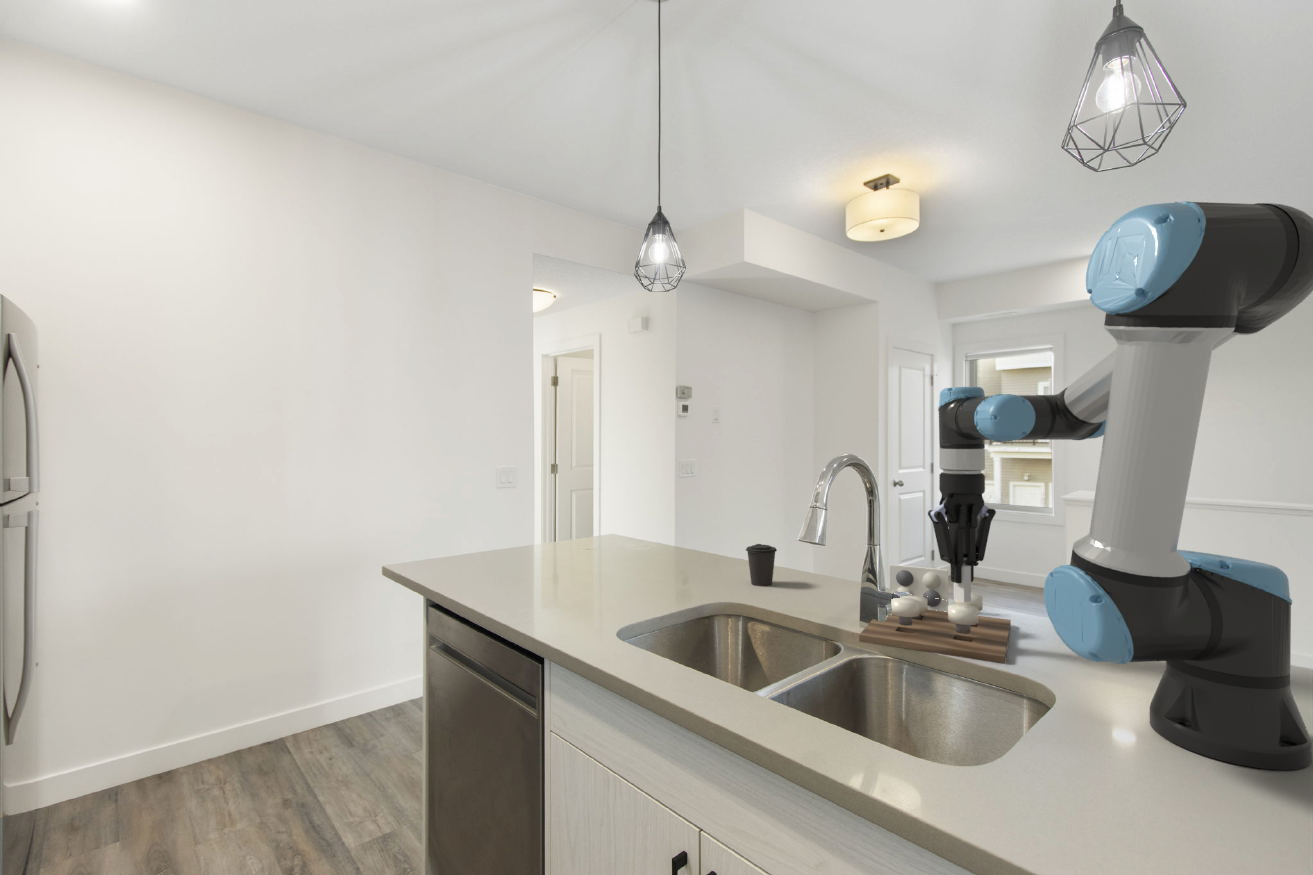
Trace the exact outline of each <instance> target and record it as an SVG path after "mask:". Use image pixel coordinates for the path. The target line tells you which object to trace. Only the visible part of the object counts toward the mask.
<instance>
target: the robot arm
mask: <svg viewBox="0 0 1313 875" xmlns="http://www.w3.org/2000/svg"><path fill="white" fill-rule="evenodd" d="M1085 287H1086V292H1087V294H1089V295H1090V296H1089V300H1090V303H1092V304H1093V306H1094V307H1095V308H1096V309H1098V310H1101V311H1102V312H1104V313H1105V316H1104V324H1103V329H1104V330H1105V331H1106V332H1107V333H1108V334H1109V335H1110V336H1111V337H1112V338H1113V339H1114V340H1115V342H1116V348H1115V349H1114V350H1113V351H1112V352H1111V353H1109V354H1108V355H1107V356H1105V357H1104V358H1102V360H1100V361H1099V362H1097V364H1095V365H1093V366H1092V368H1090V369H1089V370H1087V371H1086V372H1085V373H1083V374H1082V375H1081V376H1080V377H1078V378H1077V379H1076V380H1075V381H1073V382H1072V383H1070V385H1068V386H1067V387H1066V388H1064V389H1063V390H1061V391H1060V392H1059V393H1056V394H1036V395H1032V394H1031V395H1029V394H1028V395H1027V394H1025V395H1023V394H1022V395H1021V394H1019V395H1018V394H1012V393H1011V394H1010V393H1003V394H1002V393H998V394H994V395H987V396H986V395H985V391H984V389H983V388H982V387H981V386H955V387H946V388H943V389H942V390H941V391H940V393H939V403H938V404H939V406H938V408H937V411H938V435H939V436H938V438H939V442H938V443H939V444H938V445H939V450H938V451H939V452H938V453H939V458H938V459H939V462H938V463H939V466H938V467H939V469H940V470H942V472H940V473H939V478H938V479H939V482H938V483H939V484H938V485H939V487H938V488H939V492H940V493H941V497H940V500H939V506H937V507H936V508H935V509H930V510H928V511H927V515H928V517H929V519H930V521H931V522H932V525H933V530H934V534H935V539H936V545H937V549H938V553H939V558H940V560H941V561H942V562H946V563H948V564H950V581H951V582H952V583H953V600H954V599H956V600H959V601H962V602H971V593H972V583H973V582H974V578H975V575H974V574H975V571H974V569H975V568H974V567H977V566H978V565H980V564H979V562H983V561H984V559H985V554H986V550H987V543H988V538H989V534H990V529H991V523H992V521H993V519H994V517H995V516H996V513H997V511H996V509H994V508H990V507H988V506H987V505H986V504H985V500H984V497H983V494H985V492H986V476H985V474H984V473H982V471H985V469H986V456H985V455H986V449H985V448H986V446H985V445H986V444H985V442H986V441H994V442H999V443H1000V442H1014V441H1040V440H1047V441H1048V440H1050V441H1051V440H1056V441H1057V440H1058V441H1059V440H1065V441H1067V440H1068V441H1069V440H1070V441H1071V440H1072V441H1083V440H1085V441H1086V440H1089V439H1090V440H1091V439H1098V438H1100V437H1103V438H1102V445H1101V451H1100V452H1101V453H1100V458H1099V464H1098V465H1099V466H1098V471H1097V480H1096V486H1095V494H1094V499H1093V507H1092V512H1091V513H1092V514H1091V518H1090V519H1091V520H1090V527H1089V533H1088V534H1086V535H1084V536H1083V537H1080V538H1079V539H1078V540H1075V541H1074V542H1073V544H1072V549H1071V550H1072V551H1071V557H1070V563H1069V564H1064V565H1063V564H1062V565H1059V566H1058V567H1055V568H1053V570H1052V571H1051V572H1049V573H1048V575H1047V576H1046V578H1045V581H1044V587H1043V597H1044V598H1043V600H1044V605H1045V609H1046V613H1047V615H1048V618H1049V620H1050V622H1051V624H1052V627H1053V629H1054V631H1055V633H1056V634H1057V636H1058V637H1059V638H1060V640H1061V641H1062V642H1063V643H1064V645H1065V646H1066V647H1067V648H1068V649H1069V650H1071V652H1073V653H1075V654H1076V655H1077V656H1078V657H1081V658H1083V659H1085V660H1088V661H1090V662H1093V663H1094V662H1095V663H1114V664H1118V665H1126V664H1128V663H1138V662H1139V663H1141V662H1143V663H1144V662H1146V663H1147V662H1165V669H1164V672H1163V673H1162V675H1161V679H1160V680H1159V683H1158V685H1157V688H1156V690H1155V693H1154V694H1153V697H1152V699H1151V702H1150V703H1149V724H1150V727H1151V728H1152V729H1153V731H1155V733H1157V734H1158V735H1160V736H1161V737H1163V738H1164V739H1166V740H1168V741H1169V742H1172V743H1173V744H1175V745H1178V746H1179V747H1181V748H1183V749H1185V750H1189V751H1192V752H1194V753H1197V754H1200V755H1202V756H1206V757H1209V758H1211V759H1215V760H1219V761H1222V762H1227V763H1231V764H1234V765H1239V766H1244V767H1245V766H1246V767H1251V768H1255V769H1256V768H1258V769H1264V770H1265V769H1266V770H1275V771H1277V770H1278V771H1279V770H1280V771H1281V770H1282V771H1285V770H1290V771H1291V770H1298V769H1303V768H1306V767H1308V766H1309V765H1310V764H1311V763H1312V761H1313V754H1312V753H1313V747H1312V746H1313V744H1312V743H1313V742H1312V739H1311V737H1310V734H1309V732H1308V729H1307V726H1306V724H1305V722H1304V720H1303V718H1302V716H1301V713H1300V710H1299V708H1298V704H1297V703H1296V701H1295V699H1294V695H1293V693H1292V690H1291V646H1292V645H1291V642H1292V641H1291V637H1292V636H1291V633H1292V629H1291V627H1292V625H1291V623H1292V621H1291V620H1292V617H1291V616H1292V615H1291V614H1292V607H1291V606H1292V605H1293V600H1292V598H1291V597H1290V595H1291V593H1290V583H1289V577H1288V576H1287V574H1286V573H1285V572H1284V571H1283V570H1282V569H1280V568H1279V567H1277V566H1275V565H1272V564H1268V563H1264V562H1261V561H1255V560H1250V559H1244V558H1239V557H1232V556H1227V555H1223V554H1222V555H1220V554H1215V553H1208V552H1202V551H1194V550H1186V549H1178V544H1179V539H1180V535H1181V534H1180V533H1181V527H1182V521H1183V517H1184V510H1185V504H1186V499H1187V493H1188V489H1189V482H1190V477H1191V471H1192V466H1193V460H1194V455H1195V448H1196V444H1197V443H1196V442H1197V438H1198V432H1199V427H1200V421H1201V415H1202V410H1203V404H1204V400H1205V399H1204V397H1205V394H1206V386H1207V380H1208V374H1209V370H1210V364H1211V359H1212V353H1213V351H1215V350H1216V349H1218V348H1220V347H1221V346H1223V345H1224V344H1225V343H1227V342H1229V341H1230V340H1232V339H1233V338H1235V337H1236V336H1238V335H1239V336H1249V335H1254V334H1257V333H1259V332H1260V331H1262V330H1264V329H1266V328H1267V327H1268V326H1270V325H1272V324H1274V323H1275V322H1277V321H1279V320H1280V319H1281V318H1283V317H1284V316H1286V315H1287V314H1289V313H1290V312H1291V311H1293V310H1294V309H1295V308H1296V307H1298V306H1299V305H1300V304H1301V303H1303V302H1304V300H1306V298H1307V297H1309V296H1310V295H1311V294H1312V292H1313V217H1312V216H1311V215H1309V214H1308V213H1306V211H1303V210H1301V209H1299V208H1296V207H1293V206H1289V205H1286V204H1281V203H1274V202H1273V203H1270V202H1266V203H1265V202H1263V203H1259V202H1257V203H1240V202H1239V203H1233V202H1209V201H1206V202H1203V201H1200V202H1199V201H1179V202H1178V201H1174V202H1168V203H1167V202H1166V203H1154V204H1152V203H1151V204H1147V205H1142V206H1139V207H1136V208H1134V209H1132V210H1130V211H1128V212H1126V213H1125V214H1123V215H1122V216H1120V217H1119V218H1118V219H1117V220H1116V221H1114V222H1113V223H1112V224H1111V226H1110V228H1109V229H1108V230H1106V231H1105V232H1104V233H1103V235H1102V236H1101V237H1100V239H1099V240H1098V242H1097V244H1095V247H1094V249H1093V251H1092V253H1091V255H1090V258H1089V260H1088V263H1087V268H1086V273H1085Z"/></svg>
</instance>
